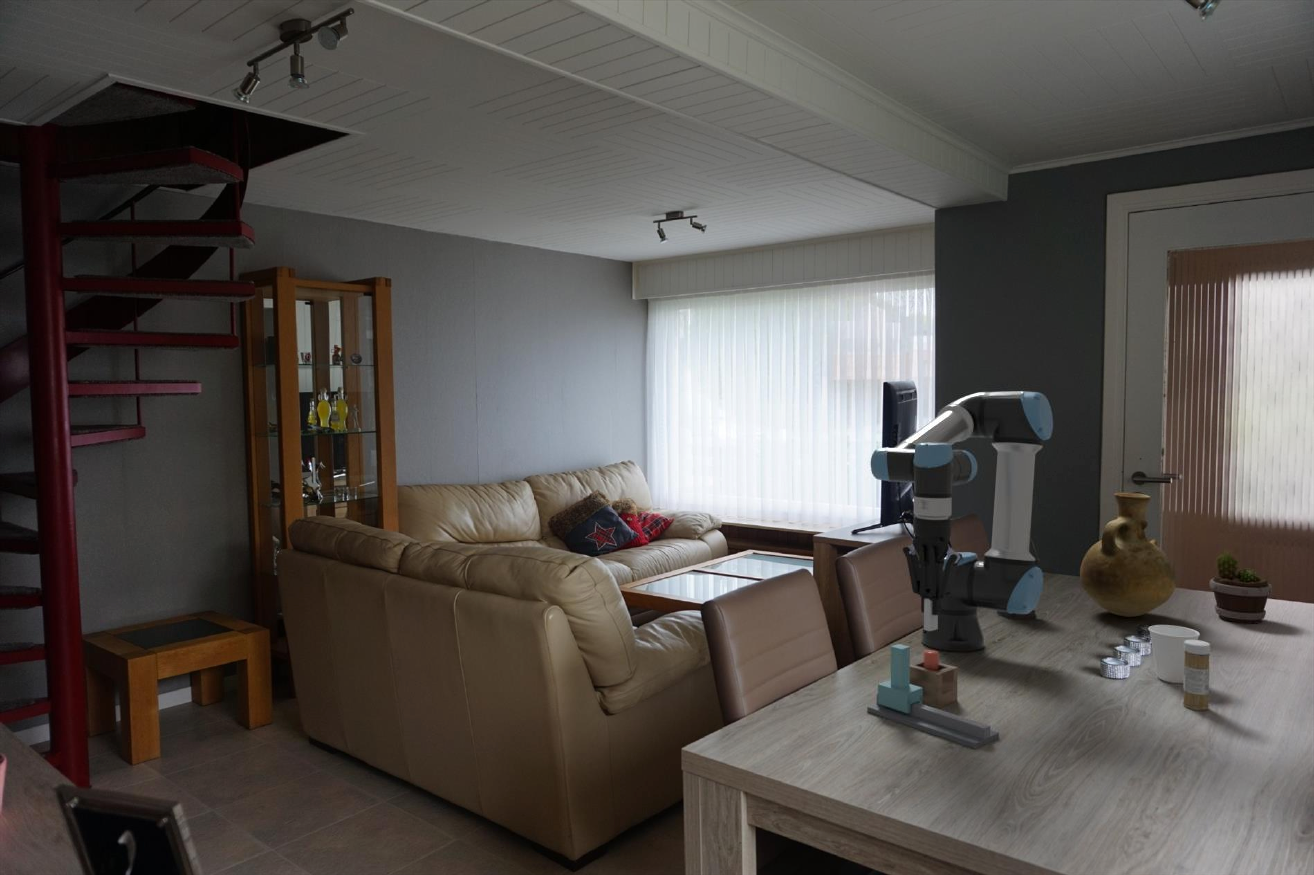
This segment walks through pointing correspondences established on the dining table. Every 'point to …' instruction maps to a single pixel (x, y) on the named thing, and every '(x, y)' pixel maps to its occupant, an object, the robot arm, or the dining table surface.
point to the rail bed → (931, 727)
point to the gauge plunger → (931, 660)
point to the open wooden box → (935, 683)
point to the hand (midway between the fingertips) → (930, 629)
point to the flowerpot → (1239, 591)
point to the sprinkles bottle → (1196, 674)
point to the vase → (1127, 563)
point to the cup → (1170, 650)
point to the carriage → (899, 682)
